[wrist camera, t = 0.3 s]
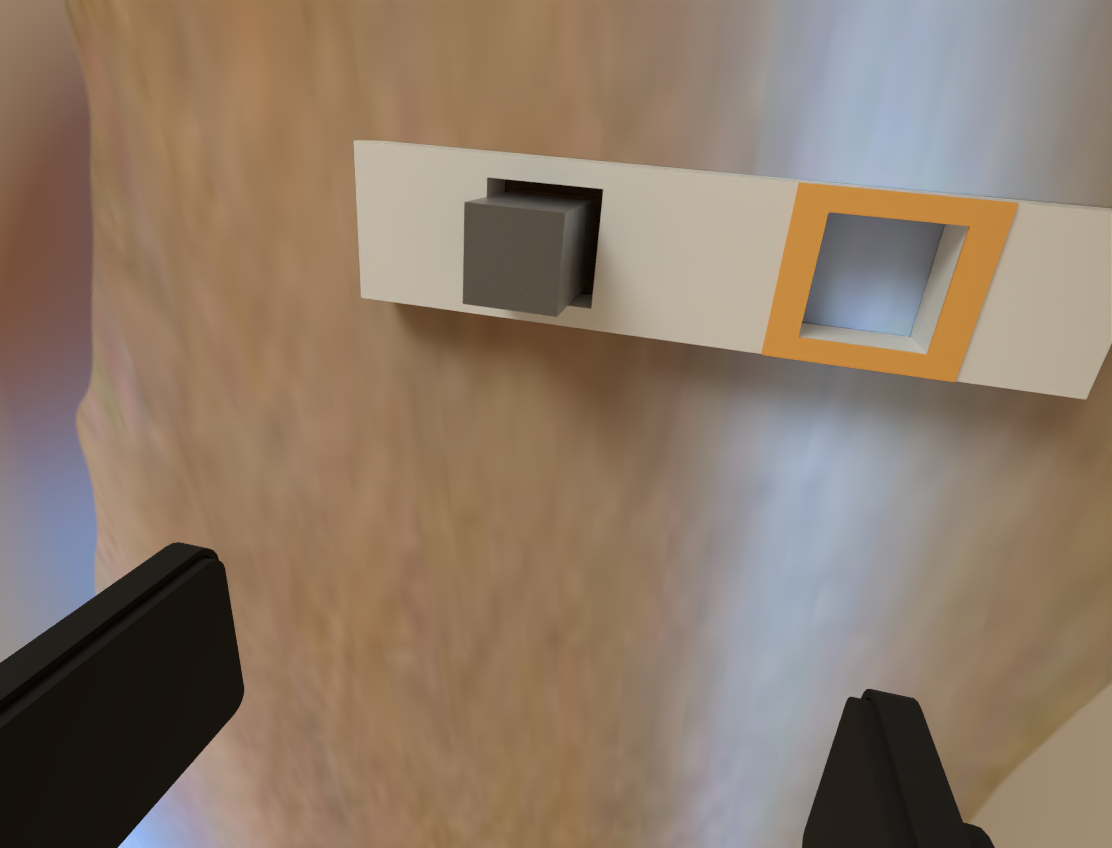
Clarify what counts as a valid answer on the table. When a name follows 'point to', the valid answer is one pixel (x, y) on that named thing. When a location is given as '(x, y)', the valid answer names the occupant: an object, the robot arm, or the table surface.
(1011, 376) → the rail
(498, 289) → the steel block
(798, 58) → the table surface
